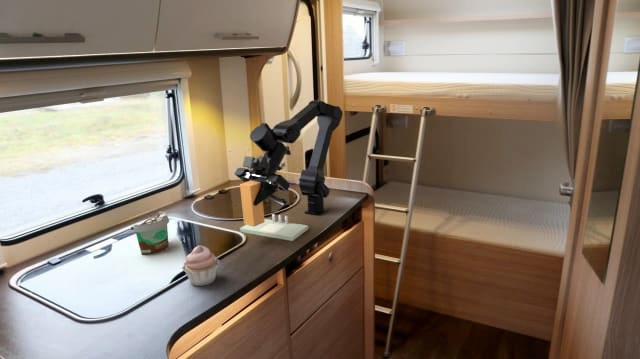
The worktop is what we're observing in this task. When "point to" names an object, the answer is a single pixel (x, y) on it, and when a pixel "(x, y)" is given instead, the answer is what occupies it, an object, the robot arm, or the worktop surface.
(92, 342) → the worktop surface
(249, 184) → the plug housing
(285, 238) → the board
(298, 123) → the robot arm
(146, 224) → the food container
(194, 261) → the cupcake
